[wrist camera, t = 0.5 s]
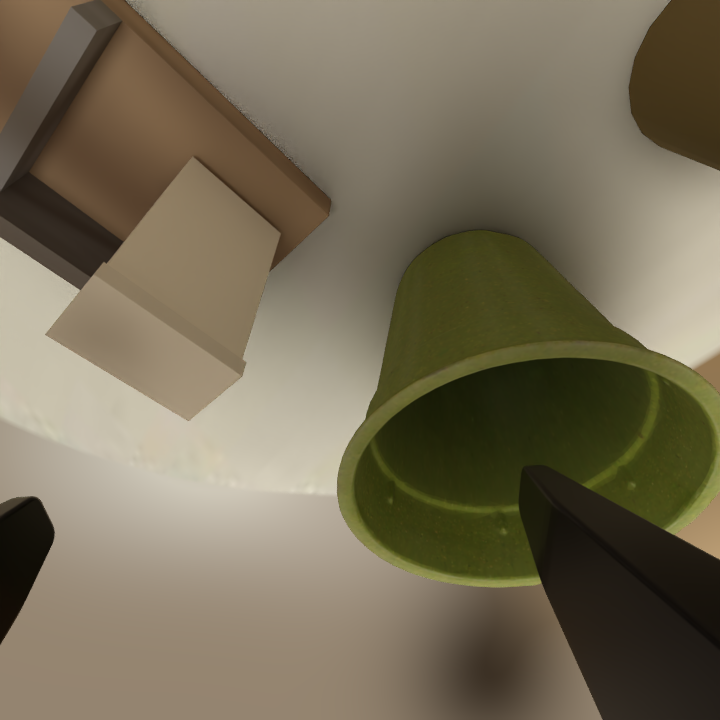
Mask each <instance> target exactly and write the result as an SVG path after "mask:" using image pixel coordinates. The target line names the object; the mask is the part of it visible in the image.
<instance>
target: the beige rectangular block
mask: <svg viewBox="0 0 720 720" xmlns="http://www.w3.org/2000/svg"><path fill="white" fill-rule="evenodd" d="M280 235H281V233H280V232H279V231H277V230H276V229H275V228H274V227H273V226H272V225H271V224H270V223H268V222H267V221H266V220H265V219H264V218H263V217H262V216H260V215H259V214H258V213H257V212H256V211H255V210H254V209H252V208H251V207H250V206H249V205H248V204H247V203H246V202H244V201H243V200H242V199H241V198H240V197H239V196H238V195H236V194H235V193H234V192H233V191H232V190H231V189H230V188H228V187H227V186H226V185H225V184H224V183H223V182H222V181H220V180H219V179H218V178H217V177H216V176H215V175H214V174H212V173H211V172H210V171H209V170H208V169H207V168H206V167H204V166H203V165H202V164H201V163H200V162H199V161H198V160H196V159H195V158H194V157H193V156H192V158H191V159H190V160H189V161H188V163H187V164H186V165H185V166H184V167H183V169H182V170H181V171H180V172H179V174H178V175H177V176H176V177H175V179H174V180H173V181H172V182H171V183H170V185H169V186H168V187H167V188H166V190H165V191H164V192H163V193H162V195H161V196H160V197H159V198H158V199H157V201H156V202H155V203H154V205H153V206H152V207H151V208H150V210H149V211H148V212H147V213H146V215H145V216H144V217H143V218H142V220H141V221H140V222H139V223H138V225H137V226H136V227H135V229H134V230H133V231H132V232H131V234H130V235H129V236H128V237H127V239H126V240H125V241H124V242H123V244H122V245H121V246H120V248H119V249H118V250H117V251H116V253H115V254H114V255H113V256H112V258H111V259H110V260H109V261H108V263H107V264H106V263H105V262H103V263H102V265H101V266H100V267H99V268H98V270H97V271H96V272H95V273H94V275H93V276H92V277H91V278H90V279H89V281H88V282H87V283H86V284H85V286H84V287H83V288H82V289H81V291H80V292H79V293H78V294H77V296H76V297H75V298H74V299H73V301H72V302H71V303H70V304H69V306H68V307H67V308H66V309H65V310H64V312H63V313H62V314H61V315H60V317H59V318H58V319H57V320H56V322H55V323H54V324H53V325H52V327H51V328H50V329H49V330H48V332H47V333H46V334H45V335H47V336H48V337H50V338H52V339H53V340H55V341H57V342H58V343H60V344H61V345H63V346H65V347H66V348H68V349H70V350H71V351H73V352H75V353H76V354H78V355H80V356H81V357H83V358H85V359H86V360H88V361H90V362H91V363H93V364H95V365H96V366H98V367H100V368H101V369H103V370H104V371H106V372H108V373H109V374H111V375H113V376H114V377H116V378H118V379H119V380H121V381H123V382H124V383H126V384H128V385H129V386H131V387H133V388H134V389H136V390H138V391H139V392H141V393H143V394H144V395H146V396H148V397H149V398H151V399H152V400H154V401H156V402H157V403H159V404H161V405H162V406H164V407H166V408H167V409H169V410H171V411H172V412H174V413H176V414H177V415H179V416H181V417H182V418H184V419H186V420H187V421H189V420H190V419H192V418H193V417H194V416H195V415H196V414H198V413H199V412H200V411H201V410H202V409H204V408H205V407H206V406H207V405H208V404H210V403H211V402H212V401H213V400H214V399H216V398H217V397H218V396H219V395H220V394H222V393H223V392H224V391H225V390H227V389H228V388H229V387H230V386H231V385H233V384H234V383H235V382H236V381H237V380H239V379H240V378H241V377H242V376H243V372H244V369H245V365H246V362H245V361H244V360H243V355H244V352H245V349H246V346H247V342H248V339H249V336H250V333H251V329H252V326H253V323H254V319H255V316H256V313H257V310H258V306H259V303H260V300H261V297H262V293H263V290H264V287H265V284H266V280H267V277H268V274H269V271H270V267H271V264H272V261H273V257H274V254H275V251H276V248H277V244H278V241H279V238H280Z"/></svg>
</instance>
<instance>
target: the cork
mask: <svg viewBox="0 0 720 720" xmlns="http://www.w3.org/2000/svg"><path fill="white" fill-rule="evenodd" d="M629 95H630V104H631V113H632V115H633V117H634V119H635V121H636V123H637V125H638V127H639V128H640V130H641V132H642V134H644V135H645V136H646V137H648V138H649V139H650V140H652V141H653V142H654V143H656V144H657V145H658V146H660V147H662V148H665V149H667V150H670V151H672V152H675V153H677V154H680V155H682V156H685V157H687V158H690V159H692V160H695V161H697V162H700V163H702V164H705V165H707V166H710V167H712V168H715V169H717V170H720V0H671V2H670V3H669V4H668V5H667V7H666V8H665V9H664V10H663V12H662V13H661V14H660V15H659V17H658V18H657V19H656V20H655V22H654V23H653V24H652V25H651V27H650V28H649V30H648V32H647V34H646V36H645V38H644V40H643V42H642V44H641V46H640V49H639V51H638V53H637V55H636V57H635V60H634V64H633V69H632V74H631V79H630V84H629Z"/></svg>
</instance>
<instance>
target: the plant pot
mask: <svg viewBox="0 0 720 720" xmlns="http://www.w3.org/2000/svg"><path fill="white" fill-rule="evenodd" d="M531 465H545V466H548V467H550V468H552V469H553V470H555V471H557V472H559V473H561V474H563V475H564V476H566V477H568V478H570V479H572V480H574V481H576V482H577V483H579V484H581V485H583V486H585V487H587V488H588V489H590V490H592V491H594V492H596V493H598V494H600V495H601V496H603V497H605V498H607V499H609V500H611V501H612V502H614V503H616V504H618V505H620V506H622V507H623V508H625V509H627V510H629V511H631V512H633V513H635V514H636V515H638V516H640V517H642V518H644V519H646V520H647V521H649V522H651V523H653V524H655V525H657V526H659V527H660V528H662V529H664V530H666V531H668V532H670V533H671V534H673V535H674V534H676V533H678V532H679V531H680V530H681V529H682V528H684V527H685V526H687V525H689V524H690V523H691V522H692V521H693V520H695V519H696V518H697V516H698V515H700V513H701V512H702V511H703V510H704V509H705V508H706V507H707V506H708V505H709V503H710V502H711V501H712V500H713V499H714V498H715V497H716V495H717V494H718V493H719V491H720V394H719V392H718V391H717V390H716V389H715V388H714V387H713V386H712V385H711V384H710V383H709V382H708V381H707V380H706V379H704V378H703V377H702V376H701V375H699V374H698V373H697V372H695V371H694V370H692V369H691V368H689V367H688V366H686V365H684V364H682V363H681V362H679V361H676V360H674V359H672V358H670V357H667V356H665V355H663V354H660V353H657V352H654V351H651V350H648V349H647V348H646V347H645V346H643V345H642V344H641V343H640V342H639V341H638V340H636V339H635V338H633V337H632V336H630V335H629V334H627V333H626V332H624V331H622V330H621V329H619V328H617V327H614V326H613V325H612V324H611V323H610V322H609V321H608V320H607V319H606V318H605V317H604V316H603V315H602V314H601V313H600V312H599V311H598V310H597V309H596V308H595V307H594V306H593V305H592V304H591V303H590V302H589V301H588V300H587V299H586V298H585V297H584V296H583V295H582V294H580V293H579V292H578V291H577V290H576V289H575V288H574V287H573V286H572V285H571V284H570V283H569V282H568V281H567V280H566V279H565V278H564V277H563V276H562V275H561V274H560V273H559V272H558V271H557V270H556V269H555V268H554V267H553V266H552V265H551V264H550V263H549V262H548V261H547V260H546V259H545V258H544V257H543V256H542V255H541V254H540V253H538V252H537V251H536V250H535V249H534V248H533V247H532V246H531V245H530V244H528V243H527V242H526V241H524V240H522V239H520V238H518V237H514V236H511V235H507V234H502V233H497V232H492V231H487V230H474V231H467V232H463V233H458V234H455V235H452V236H449V237H446V238H444V239H442V240H440V241H438V242H436V243H434V244H433V245H431V246H430V247H428V248H427V249H426V250H424V251H423V252H422V253H421V254H420V255H419V256H418V257H416V258H415V259H414V260H413V262H412V263H411V264H410V265H409V267H408V268H407V270H406V271H405V273H404V275H403V277H402V280H401V282H400V284H399V287H398V290H397V293H396V297H395V302H394V307H393V312H392V318H391V323H390V328H389V333H388V338H387V343H386V347H385V352H384V358H383V363H382V368H381V373H380V378H379V383H378V387H377V391H376V393H375V395H374V396H373V398H372V400H371V402H370V405H369V408H368V411H367V414H366V419H365V421H364V422H363V423H362V424H361V426H360V427H359V428H358V430H357V431H356V432H355V434H354V436H353V437H352V439H351V440H350V442H349V444H348V446H347V448H346V450H345V453H344V455H343V457H342V461H341V464H340V467H339V472H338V478H337V496H338V502H339V507H340V510H341V513H342V516H343V518H344V520H345V521H346V523H347V525H348V527H349V528H350V530H351V531H352V532H353V534H354V535H355V536H356V537H357V539H359V540H360V541H361V542H362V543H363V544H364V545H365V546H366V547H367V548H368V549H369V550H371V551H372V552H373V553H375V554H376V555H377V556H378V557H380V558H381V559H383V560H385V561H387V562H389V563H390V564H392V565H394V566H396V567H398V568H401V569H403V570H405V571H407V572H410V573H413V574H415V575H419V576H422V577H425V578H429V579H433V580H437V581H441V582H447V583H453V584H460V585H469V586H480V587H514V586H532V585H537V584H541V580H540V577H539V574H538V571H537V568H536V565H535V561H534V558H533V555H532V551H531V548H530V545H529V542H528V538H527V535H526V532H525V529H524V525H523V522H522V519H521V516H520V511H519V503H518V499H519V489H520V479H521V471H522V469H523V467H525V466H531Z"/></svg>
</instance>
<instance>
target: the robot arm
mask: <svg viewBox="0 0 720 720" xmlns="http://www.w3.org/2000/svg"><path fill="white" fill-rule="evenodd" d="M518 503H519V511H520V516H521V519H522V522H523V525H524V529H525V532H526V535H527V538H528V542H529V545H530V548H531V551H532V555H533V558H534V561H535V565H536V568H537V571H538V574H539V577H540V580H541V583H542V585H543V587H544V590H545V592H546V595H547V597H548V599H549V601H550V603H551V606H552V608H553V610H554V612H555V615H556V617H557V619H558V621H559V624H560V625H561V628H562V630H563V632H564V635H565V637H566V639H567V641H568V644H569V646H570V648H571V650H572V652H573V655H574V657H575V659H576V661H577V664H578V666H579V668H580V670H581V673H582V675H583V677H584V679H585V681H586V684H587V686H588V688H589V690H590V693H591V695H592V697H593V699H594V701H595V704H596V706H597V708H598V710H599V712H600V715H601V717H602V719H603V720H720V560H719V559H718V558H716V557H714V556H712V555H710V554H708V553H706V552H705V551H703V550H701V549H699V548H697V547H695V546H693V545H692V544H690V543H688V542H686V541H684V540H683V539H681V538H679V537H677V536H675V535H673V534H671V533H670V532H668V531H666V530H664V529H662V528H660V527H659V526H657V525H655V524H653V523H651V522H649V521H647V520H646V519H644V518H642V517H640V516H638V515H636V514H635V513H633V512H631V511H629V510H627V509H625V508H623V507H622V506H620V505H618V504H616V503H614V502H612V501H611V500H609V499H607V498H605V497H603V496H601V495H600V494H598V493H596V492H594V491H592V490H590V489H588V488H587V487H585V486H583V485H581V484H579V483H577V482H576V481H574V480H572V479H570V478H568V477H566V476H564V475H563V474H561V473H559V472H557V471H555V470H553V469H552V468H550V467H548V466H545V465H531V466H525V467H523V469H522V471H521V479H520V489H519V499H518ZM54 533H55V532H54V527H53V524H52V522H51V520H50V518H49V516H48V514H47V512H46V510H45V508H44V506H43V504H42V502H41V500H40V499H38V498H37V497H34V496H30V497H16V498H13V499H10V500H8V501H6V502H3V503H1V504H0V644H1V643H2V641H3V639H4V638H5V636H6V634H7V633H8V631H9V629H10V628H11V626H12V624H13V623H14V621H15V619H16V618H17V616H18V614H19V612H20V610H21V608H22V606H23V604H24V602H25V601H26V598H27V596H28V594H29V592H30V590H31V588H32V586H33V584H34V582H35V579H36V577H37V575H38V573H39V571H40V569H41V567H42V565H43V563H44V561H45V558H46V556H47V554H48V552H49V550H50V548H51V546H52V544H53V540H54Z"/></svg>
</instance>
